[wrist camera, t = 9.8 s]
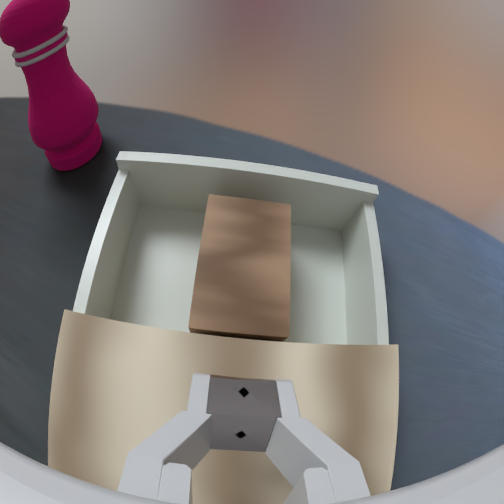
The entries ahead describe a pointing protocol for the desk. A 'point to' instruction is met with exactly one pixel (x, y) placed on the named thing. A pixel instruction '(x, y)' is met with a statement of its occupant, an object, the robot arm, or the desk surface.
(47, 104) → the pepper mill
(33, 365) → the desk surface
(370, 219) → the tray
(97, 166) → the desk surface
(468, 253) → the desk surface
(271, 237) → the walnut block
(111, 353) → the beige box sleeve
